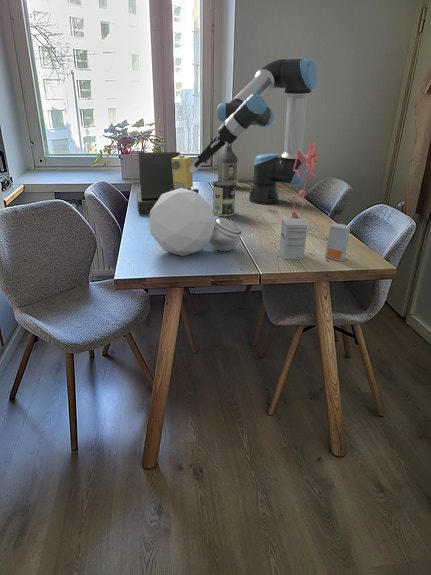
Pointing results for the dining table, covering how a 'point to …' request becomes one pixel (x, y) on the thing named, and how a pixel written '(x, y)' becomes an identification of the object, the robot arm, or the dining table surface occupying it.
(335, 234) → the skincare box
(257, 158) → the robot arm
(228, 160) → the liquor
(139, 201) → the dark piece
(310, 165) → the figurine
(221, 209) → the coffee can
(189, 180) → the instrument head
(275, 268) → the dining table surface
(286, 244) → the supplement box
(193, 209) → the lamp
